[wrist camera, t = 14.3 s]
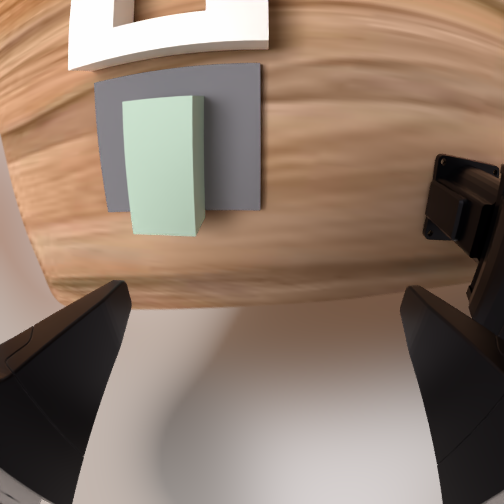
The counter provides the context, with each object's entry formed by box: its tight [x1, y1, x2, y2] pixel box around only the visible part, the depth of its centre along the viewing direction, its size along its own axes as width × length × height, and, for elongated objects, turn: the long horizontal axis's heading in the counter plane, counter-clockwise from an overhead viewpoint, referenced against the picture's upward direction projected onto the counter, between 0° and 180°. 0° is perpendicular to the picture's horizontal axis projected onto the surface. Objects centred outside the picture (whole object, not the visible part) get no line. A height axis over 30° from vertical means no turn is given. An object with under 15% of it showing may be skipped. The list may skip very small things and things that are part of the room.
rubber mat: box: [94, 63, 261, 212], centre depth 18 cm, size 11×10×1 cm
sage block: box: [122, 96, 205, 236], centre depth 17 cm, size 4×8×3 cm, turn 178°
